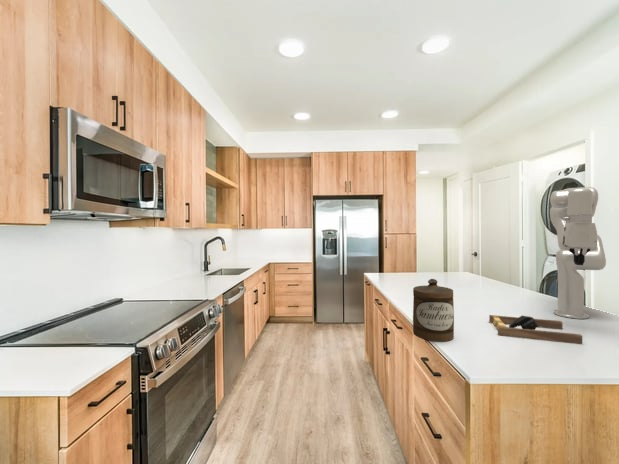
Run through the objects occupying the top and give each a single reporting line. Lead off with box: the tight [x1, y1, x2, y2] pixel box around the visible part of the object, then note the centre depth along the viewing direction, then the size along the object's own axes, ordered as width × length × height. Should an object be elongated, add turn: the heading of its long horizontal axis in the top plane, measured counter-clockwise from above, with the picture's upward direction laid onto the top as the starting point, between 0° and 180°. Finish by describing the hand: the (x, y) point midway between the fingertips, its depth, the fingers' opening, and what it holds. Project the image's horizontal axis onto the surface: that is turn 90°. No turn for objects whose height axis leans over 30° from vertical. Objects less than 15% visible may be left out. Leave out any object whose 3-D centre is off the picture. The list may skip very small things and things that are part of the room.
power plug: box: [508, 315, 539, 330], centre depth 123 cm, size 6×8×12 cm
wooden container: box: [412, 278, 455, 343], centre depth 120 cm, size 15×15×22 cm
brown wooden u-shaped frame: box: [488, 314, 583, 345], centre depth 123 cm, size 18×26×3 cm
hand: (578, 264), depth 124 cm, fingers closed
